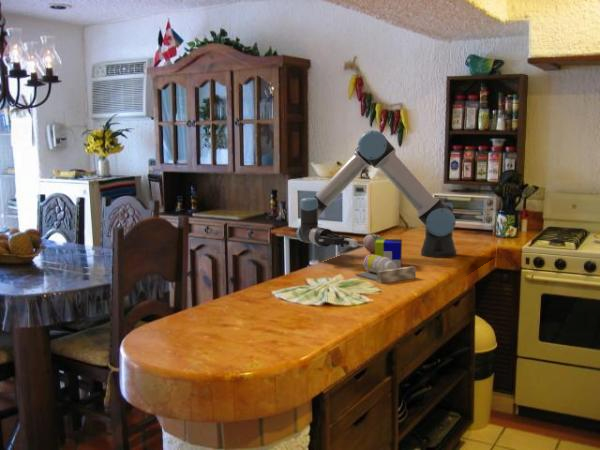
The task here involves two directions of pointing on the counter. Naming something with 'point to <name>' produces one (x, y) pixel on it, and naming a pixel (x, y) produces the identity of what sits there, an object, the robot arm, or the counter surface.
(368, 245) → the decorative fruit
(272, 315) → the counter surface
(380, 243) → the puzzle toy
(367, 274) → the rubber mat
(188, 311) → the counter surface
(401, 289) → the counter surface
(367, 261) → the supplement bottle
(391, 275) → the backstop rail
